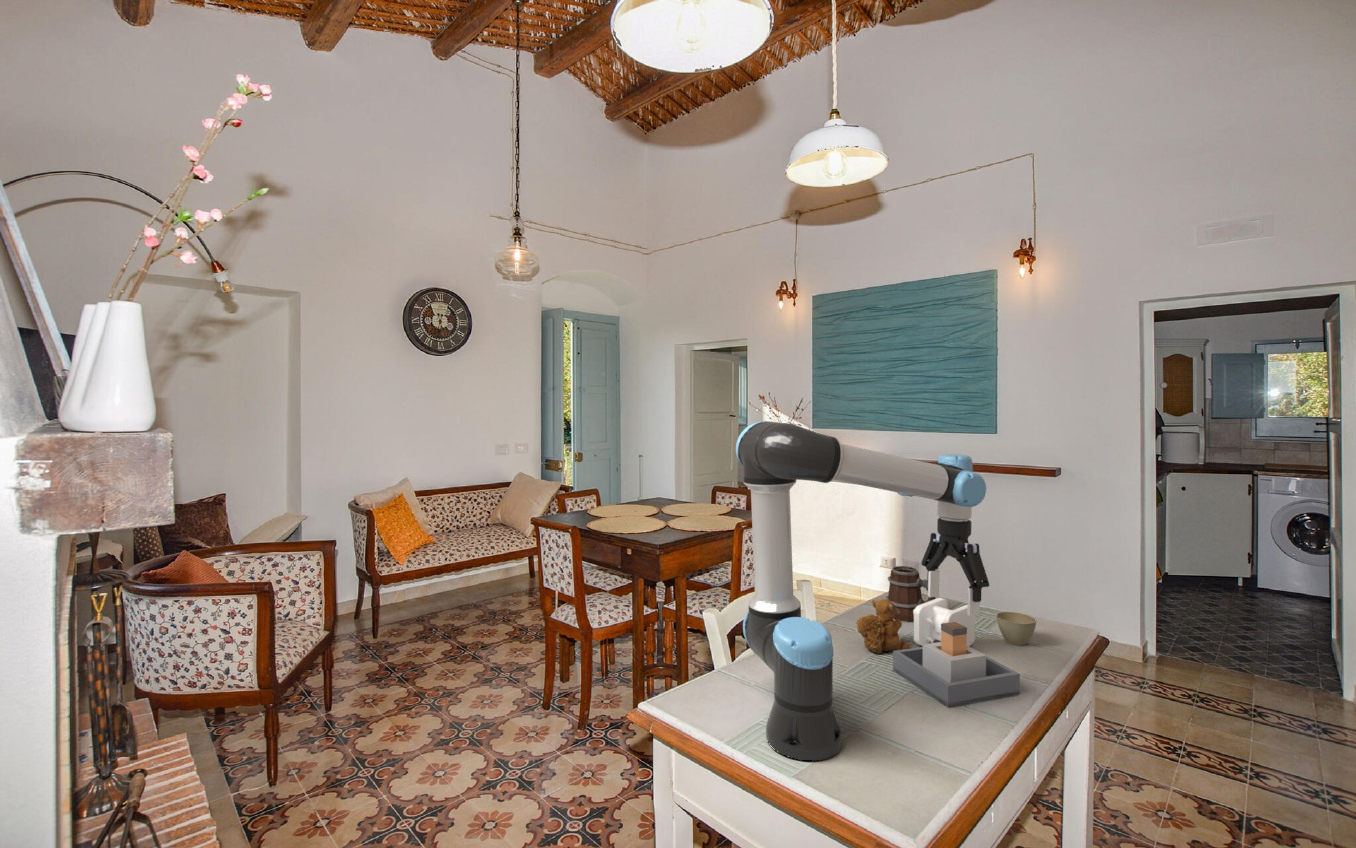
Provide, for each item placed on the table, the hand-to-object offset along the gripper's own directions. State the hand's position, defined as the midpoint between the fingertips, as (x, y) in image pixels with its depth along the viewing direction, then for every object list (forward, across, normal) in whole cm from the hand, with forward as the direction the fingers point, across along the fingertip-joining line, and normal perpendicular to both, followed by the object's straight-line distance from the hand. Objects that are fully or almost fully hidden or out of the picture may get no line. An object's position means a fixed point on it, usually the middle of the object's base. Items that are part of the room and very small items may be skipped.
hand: (952, 605), depth 148 cm
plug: (+15, 0, -1) cm, 15 cm away
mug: (+19, +41, -20) cm, 49 cm away
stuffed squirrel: (+19, +23, +4) cm, 30 cm away
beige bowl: (+19, +15, -35) cm, 42 cm away
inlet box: (+19, 0, -1) cm, 19 cm away
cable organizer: (+19, +19, -14) cm, 30 cm away
